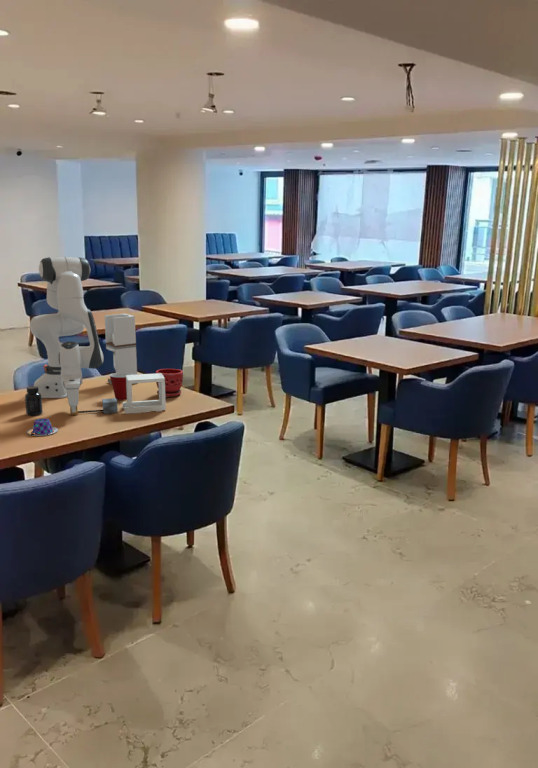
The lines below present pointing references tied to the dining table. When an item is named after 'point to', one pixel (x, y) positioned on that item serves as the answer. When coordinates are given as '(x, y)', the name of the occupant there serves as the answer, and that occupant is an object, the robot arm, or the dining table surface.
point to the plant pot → (171, 386)
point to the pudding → (42, 427)
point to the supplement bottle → (33, 401)
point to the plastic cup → (119, 385)
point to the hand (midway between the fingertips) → (73, 410)
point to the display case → (122, 342)
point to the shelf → (144, 405)
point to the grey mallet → (108, 407)
